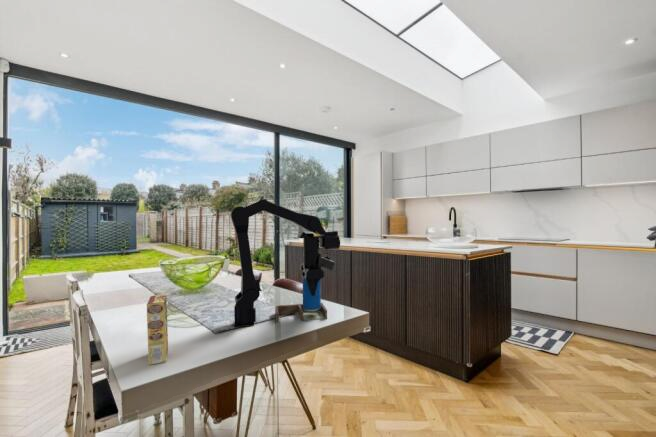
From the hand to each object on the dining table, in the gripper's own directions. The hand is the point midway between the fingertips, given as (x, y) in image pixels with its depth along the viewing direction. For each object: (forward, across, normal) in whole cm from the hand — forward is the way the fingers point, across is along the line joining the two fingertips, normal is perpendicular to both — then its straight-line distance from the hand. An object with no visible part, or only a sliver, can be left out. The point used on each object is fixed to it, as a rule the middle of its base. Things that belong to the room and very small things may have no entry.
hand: (311, 293), depth 118 cm
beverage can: (+6, 0, 0) cm, 6 cm away
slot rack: (+8, 0, +4) cm, 9 cm away
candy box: (+9, -25, +44) cm, 51 cm away
